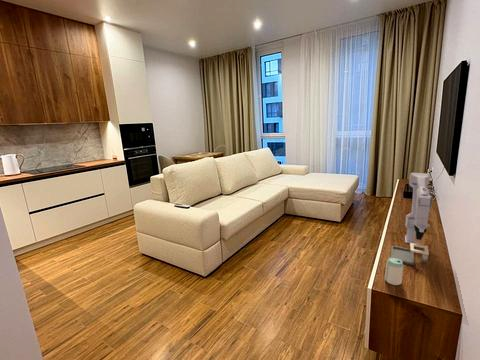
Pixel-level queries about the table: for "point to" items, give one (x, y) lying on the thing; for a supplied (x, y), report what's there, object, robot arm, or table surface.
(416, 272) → the table surface
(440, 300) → the table surface
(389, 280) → the can
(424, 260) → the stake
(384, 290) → the table surface
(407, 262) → the tray
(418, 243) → the square frame with handle
